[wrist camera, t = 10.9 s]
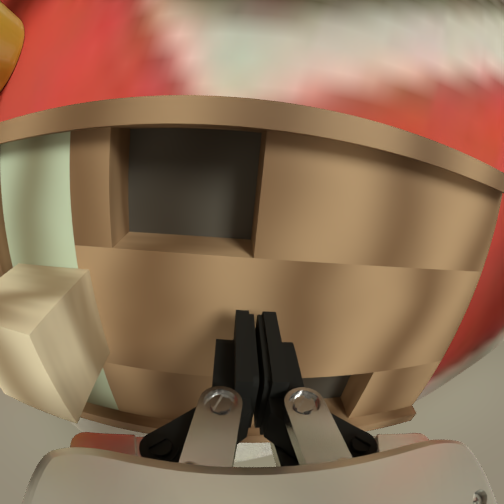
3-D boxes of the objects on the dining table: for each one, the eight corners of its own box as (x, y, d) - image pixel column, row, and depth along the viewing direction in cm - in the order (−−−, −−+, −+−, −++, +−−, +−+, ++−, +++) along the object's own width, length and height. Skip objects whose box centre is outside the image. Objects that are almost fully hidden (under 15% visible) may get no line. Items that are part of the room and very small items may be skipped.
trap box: (478, 169, 13) (515, 179, 9) (396, 392, 20) (410, 420, 16) (18, 126, 10) (-21, 129, 7) (66, 378, 17) (51, 407, 14)
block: (89, 269, 11) (29, 335, 6) (110, 352, 13) (77, 423, 8) (18, 263, 11) (-40, 311, 6) (43, 338, 13) (4, 393, 8)
